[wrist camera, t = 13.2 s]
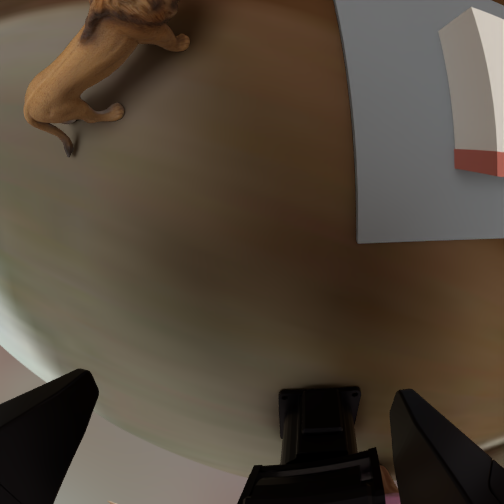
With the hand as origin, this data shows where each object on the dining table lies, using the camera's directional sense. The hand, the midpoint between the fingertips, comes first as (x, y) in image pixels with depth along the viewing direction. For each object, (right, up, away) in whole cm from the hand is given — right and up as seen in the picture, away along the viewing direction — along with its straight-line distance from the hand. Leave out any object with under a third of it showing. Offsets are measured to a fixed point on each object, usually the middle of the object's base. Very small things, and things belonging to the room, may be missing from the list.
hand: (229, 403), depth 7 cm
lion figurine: (-7, +16, +8) cm, 20 cm away
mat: (+15, +14, +6) cm, 21 cm away
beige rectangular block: (+15, +13, +5) cm, 21 cm away
